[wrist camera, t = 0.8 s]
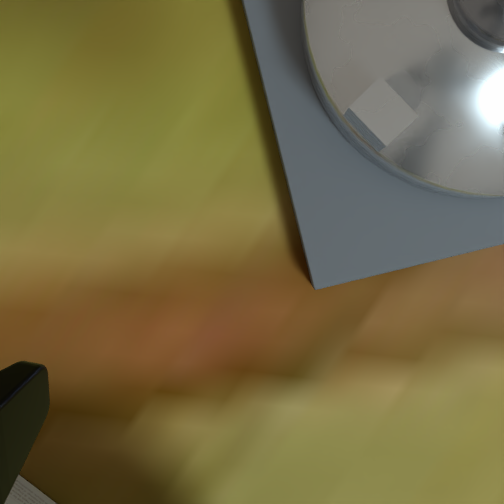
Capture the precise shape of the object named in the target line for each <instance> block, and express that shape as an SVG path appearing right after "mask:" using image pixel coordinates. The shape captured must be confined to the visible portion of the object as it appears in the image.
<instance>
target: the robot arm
mask: <svg viewBox="0 0 504 504" xmlns="http://www.w3.org/2000/svg"><path fill="white" fill-rule="evenodd" d="M49 404H50V399H49V384H48V372H47V368H46V367H45V366H44V365H42V364H38V363H32V362H27V361H20V362H17V363H15V364H13V365H11V366H9V367H7V368H5V369H3V370H1V371H0V504H4V503H5V501H6V499H7V497H8V495H9V493H10V491H11V489H12V487H13V485H14V483H15V481H16V479H17V477H18V475H19V473H20V471H21V469H22V466H23V464H24V462H25V460H26V458H27V456H28V454H29V452H30V450H31V448H32V446H33V443H34V441H35V439H36V437H37V435H38V433H39V431H40V429H41V427H42V425H43V423H44V421H45V418H46V416H47V413H48V410H49Z"/></svg>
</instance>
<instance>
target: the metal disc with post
mask: <svg viewBox="0 0 504 504" xmlns="http://www.w3.org/2000/svg"><path fill="white" fill-rule="evenodd" d="M300 15H301V38H302V44H303V50H304V55H305V61H306V65H307V68H308V71H309V74H310V77H311V81H312V84H313V86H314V88H315V91H316V93H317V95H318V97H319V99H320V101H321V104H322V106H323V107H324V109H325V111H326V112H327V114H328V115H329V117H330V118H331V120H332V122H333V123H334V125H335V126H336V127H337V129H338V130H339V131H340V132H341V133H342V135H343V136H344V137H345V138H346V139H347V140H348V142H349V143H350V144H351V145H352V146H353V147H354V148H355V149H356V150H358V151H359V152H360V153H361V154H362V155H363V156H364V157H365V158H366V159H367V160H369V161H370V162H372V163H373V164H375V165H376V166H377V167H379V168H380V169H382V170H383V171H385V172H386V173H388V174H390V175H392V176H394V177H396V178H397V179H399V180H401V181H403V182H405V183H407V184H410V185H413V186H415V187H418V188H421V189H424V190H427V191H430V192H434V193H438V194H443V195H448V196H453V197H464V198H477V199H478V198H497V197H504V0H302V2H301V14H300Z"/></svg>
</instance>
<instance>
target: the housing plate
mask: <svg viewBox="0 0 504 504" xmlns="http://www.w3.org/2000/svg"><path fill="white" fill-rule="evenodd" d="M301 2H302V0H242V4H243V8H244V12H245V16H246V20H247V24H248V28H249V33H250V37H251V41H252V45H253V49H254V53H255V57H256V61H257V65H258V69H259V73H260V77H261V81H262V85H263V89H264V93H265V97H266V101H267V105H268V109H269V113H270V117H271V121H272V125H273V129H274V134H275V138H276V142H277V146H278V150H279V154H280V158H281V162H282V166H283V170H284V174H285V178H286V182H287V186H288V190H289V194H290V198H291V202H292V206H293V210H294V214H295V218H296V222H297V226H298V230H299V235H300V239H301V243H302V247H303V251H304V255H305V259H306V263H307V267H308V271H309V275H310V279H311V283H312V286H313V288H314V289H315V290H317V289H321V288H325V287H329V286H333V285H337V284H341V283H345V282H349V281H353V280H358V279H362V278H366V277H370V276H374V275H378V274H382V273H386V272H390V271H394V270H398V269H403V268H407V267H411V266H415V265H419V264H423V263H427V262H431V261H435V260H439V259H443V258H448V257H452V256H456V255H460V254H464V253H468V252H472V251H476V250H480V249H484V248H488V247H493V246H497V245H501V244H504V197H497V198H478V199H477V198H464V197H453V196H448V195H443V194H438V193H434V192H430V191H427V190H424V189H421V188H418V187H415V186H413V185H410V184H407V183H405V182H403V181H401V180H399V179H397V178H396V177H394V176H392V175H390V174H388V173H386V172H385V171H383V170H382V169H380V168H379V167H377V166H376V165H375V164H373V163H372V162H370V161H369V160H367V159H366V158H365V157H364V156H363V155H362V154H361V153H360V152H359V151H358V150H356V149H355V148H354V147H353V146H352V145H351V144H350V143H349V142H348V140H347V139H346V138H345V137H344V136H343V135H342V133H341V132H340V131H339V130H338V129H337V127H336V126H335V125H334V123H333V122H332V120H331V118H330V117H329V115H328V114H327V112H326V111H325V109H324V107H323V106H322V104H321V101H320V99H319V97H318V95H317V93H316V91H315V88H314V86H313V84H312V81H311V77H310V74H309V71H308V68H307V65H306V61H305V55H304V50H303V44H302V38H301V15H300V14H301Z"/></svg>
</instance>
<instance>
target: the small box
mask: <svg viewBox="0 0 504 504" xmlns="http://www.w3.org/2000/svg"><path fill="white" fill-rule="evenodd" d="M4 504H57V503H55V502H54V501H53V500H51V499H50V498H49V497H47V496H46V495H45V494H43V493H42V492H41V491H40V490H38V489H37V488H36V487H34V486H33V485H32V484H30V483H29V482H28V481H26V480H25V479H24V478H23V477H21V476H20V475H18V477H17V479H16V481H15V483H14V485H13V487H12V489H11V491H10V493H9V495H8V497H7V499H6V501H5V503H4Z"/></svg>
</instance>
